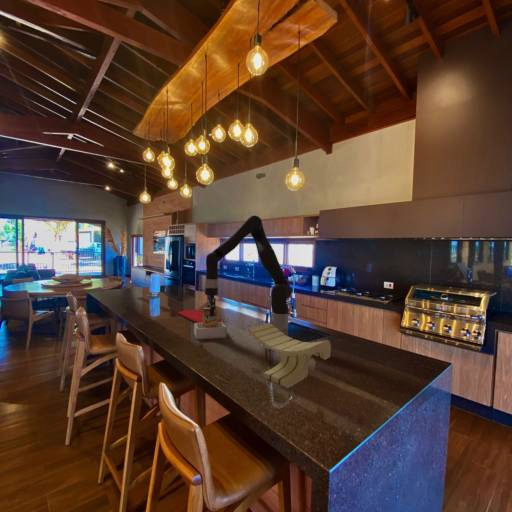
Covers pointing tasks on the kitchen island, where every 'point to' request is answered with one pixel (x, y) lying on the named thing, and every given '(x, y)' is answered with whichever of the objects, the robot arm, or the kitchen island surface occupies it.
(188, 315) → the red flat case
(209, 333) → the box
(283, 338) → the slatted curved stool
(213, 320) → the candy box
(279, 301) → the robot arm
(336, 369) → the kitchen island surface
